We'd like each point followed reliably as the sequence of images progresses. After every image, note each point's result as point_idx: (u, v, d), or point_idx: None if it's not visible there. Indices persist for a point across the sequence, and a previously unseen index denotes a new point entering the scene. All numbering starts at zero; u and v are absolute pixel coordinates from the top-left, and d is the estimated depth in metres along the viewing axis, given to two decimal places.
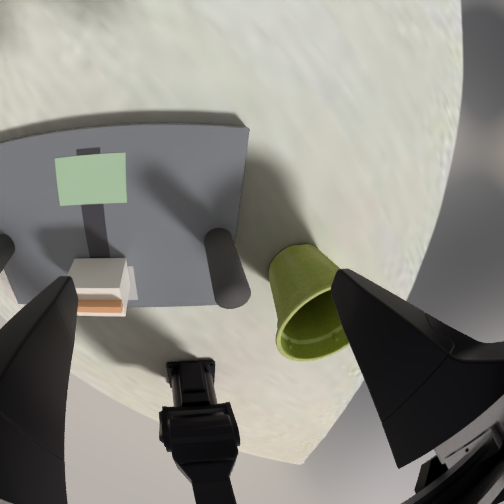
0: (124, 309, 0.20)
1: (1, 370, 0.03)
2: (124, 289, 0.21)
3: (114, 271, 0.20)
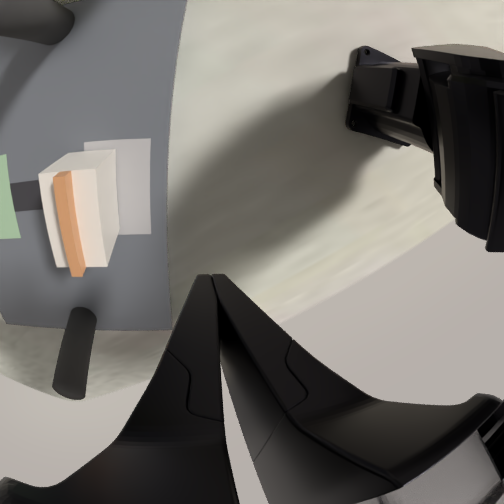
0: (84, 168, 0.10)
1: (218, 382, 0.04)
2: (74, 162, 0.11)
3: None
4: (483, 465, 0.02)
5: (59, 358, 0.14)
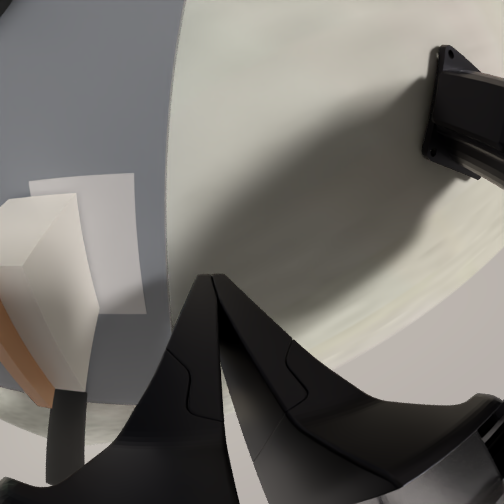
0: (7, 261, 0.04)
1: (218, 382, 0.04)
2: (2, 232, 0.05)
3: None
4: (483, 465, 0.02)
5: (47, 451, 0.08)
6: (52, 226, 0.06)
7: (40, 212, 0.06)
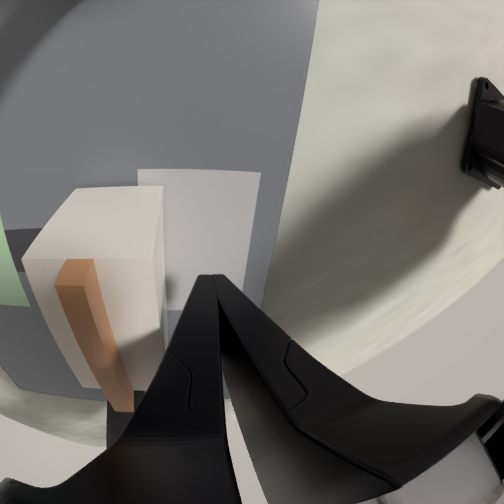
0: (124, 253, 0.05)
1: (219, 382, 0.04)
2: (93, 222, 0.06)
3: None
4: (482, 466, 0.02)
5: None
6: (158, 218, 0.06)
7: (133, 203, 0.07)
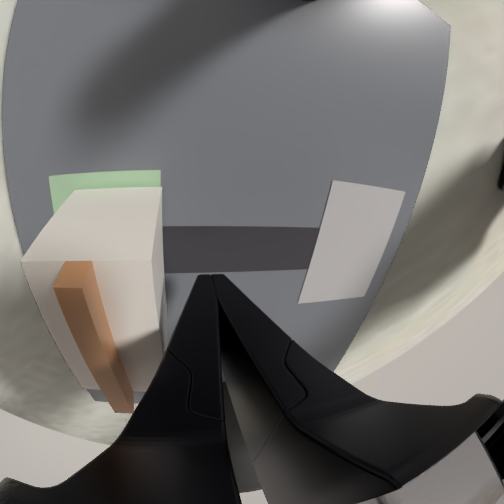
0: (123, 255, 0.05)
1: (219, 382, 0.04)
2: (92, 224, 0.06)
3: None
4: (482, 466, 0.02)
5: (237, 456, 0.11)
6: (157, 219, 0.06)
7: (132, 204, 0.07)
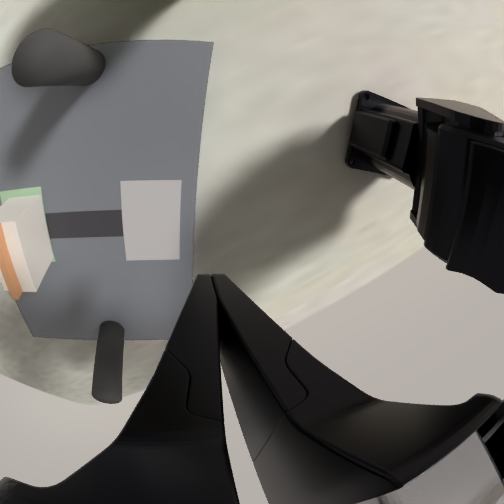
0: (9, 220, 0.11)
1: (218, 382, 0.04)
2: (7, 211, 0.11)
3: None
4: (483, 465, 0.02)
5: (96, 368, 0.17)
6: (28, 208, 0.12)
7: (24, 203, 0.13)
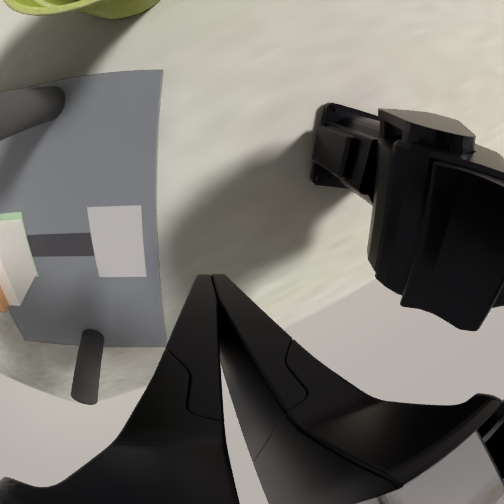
0: None
1: (218, 382, 0.04)
2: None
3: None
4: (483, 465, 0.02)
5: (75, 372, 0.18)
6: (9, 234, 0.13)
7: (6, 228, 0.13)
